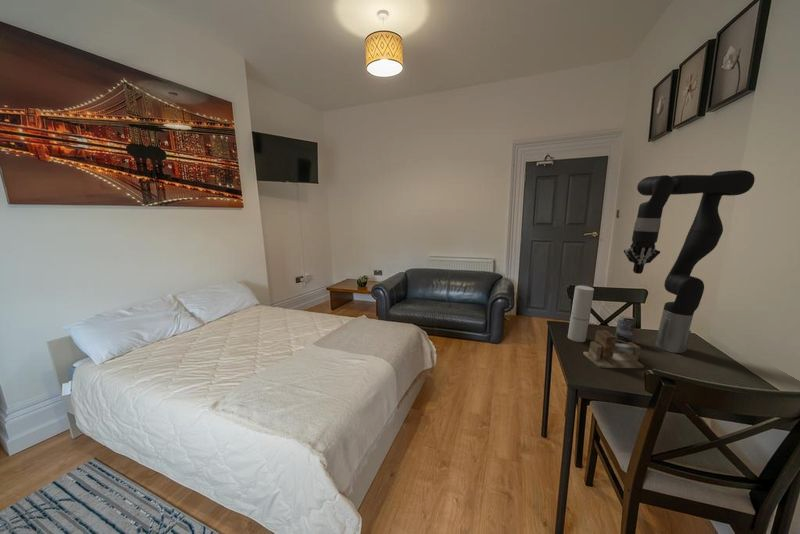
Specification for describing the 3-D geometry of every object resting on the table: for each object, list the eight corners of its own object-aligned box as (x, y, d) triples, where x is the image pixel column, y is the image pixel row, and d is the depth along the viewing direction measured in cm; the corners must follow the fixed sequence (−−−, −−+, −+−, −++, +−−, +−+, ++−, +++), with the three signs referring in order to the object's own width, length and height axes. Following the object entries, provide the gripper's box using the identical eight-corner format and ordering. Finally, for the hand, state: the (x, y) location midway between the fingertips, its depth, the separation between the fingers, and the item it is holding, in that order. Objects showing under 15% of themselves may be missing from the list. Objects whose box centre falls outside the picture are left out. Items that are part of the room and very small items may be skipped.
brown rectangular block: (601, 351, 116) (605, 330, 114) (612, 359, 110) (616, 337, 108) (592, 351, 116) (596, 330, 114) (602, 359, 110) (607, 337, 108)
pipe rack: (623, 354, 118) (626, 338, 117) (643, 368, 108) (647, 351, 107) (583, 353, 118) (585, 338, 117) (599, 367, 109) (602, 350, 107)
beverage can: (616, 343, 128) (621, 318, 125) (611, 336, 134) (616, 313, 132) (633, 346, 125) (639, 321, 123) (627, 338, 132) (632, 315, 129)
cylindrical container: (580, 335, 135) (588, 285, 129) (588, 342, 128) (597, 290, 123) (564, 334, 136) (572, 285, 130) (572, 341, 129) (580, 289, 123)
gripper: (655, 229, 112) (646, 271, 116) (621, 228, 112) (613, 270, 116) (672, 231, 105) (662, 275, 109) (636, 230, 105) (628, 275, 109)
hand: (637, 273), depth 112 cm, fingers closed
